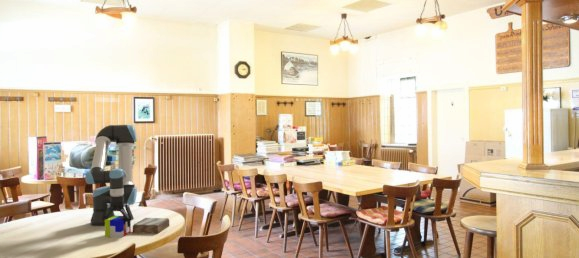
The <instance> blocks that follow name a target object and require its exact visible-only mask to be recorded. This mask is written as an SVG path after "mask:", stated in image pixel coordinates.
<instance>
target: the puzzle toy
mask: <svg viewBox="0 0 579 258" xmlns="http://www.w3.org/2000/svg"><path fill="white" fill-rule="evenodd" d="M126 221H127V220H126V219H125V217H124V216H123V215H115V216H113V217H111V218H108V219H106V220H105V225H104V237H105V238H116V239H119V238H120V239H121V238H124V237H125V236H127V235H129V234H130V233H132V229H131V228H132V227H131V226H132V225H131V226H130V227H129V230H130V231H129V232H128V233H126Z"/></svg>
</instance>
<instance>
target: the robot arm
mask: <svg viewBox="0 0 579 258" xmlns="http://www.w3.org/2000/svg"><path fill="white" fill-rule="evenodd" d="M137 141H138V137H137V131H136V127H135V125H133V124H110V125H106V126H104V127H103V128H102V129H101V130H99V131H98V133H97V134H96V137H95V139H94V144H95V147H94V153H93V158H92V163H91V167H90V168H91V169H90V170H89V171H87V172H85V177H84V179H85V183H86V184H88V185H95V184H97V185H98V184H99V185H100V184H109V185H106V186H101V187H98V188H95V189H93V190H92V209H93V210H92V215H91V218H90V225H92V226H105V220H106V219H108V218H111V217H113V216H116V214H115V212H119V213H121V214H122V216H124V217H125V219H126V220H127V221H126V233H128V232H129V231H130V230H129V227H130V226H132V225H131V221H133V220H134V219H135V218H134V216H133V213H132V210H131V207H130V206H131V205H132V206H133V205H134V204H136V201H137V200H136V199H137V195H138V187H136V186H135V183H134V182H133V147H134V146H135V143H136V142H137ZM111 143H115V145H116V146H117V149H118V150H117V151H118V156H117V157H118V163H117V167H118V168H113V169H109V170H106V169H105V168H106V165H107V164H106V163H107V158H108V151H109V146H110V145H111Z"/></svg>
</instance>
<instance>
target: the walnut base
mask: <svg viewBox="0 0 579 258" xmlns="http://www.w3.org/2000/svg"><path fill="white" fill-rule="evenodd" d="M169 227H170V219H169V218H168V217H167V218H166V217H165V218H164V217H163V218H162V217H144V218H143V219H141V220H139V221H137V222H136V223H134V224H133V225H132V234H160V233H161V232H163V231H164V230H166V229H167V228H169Z"/></svg>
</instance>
